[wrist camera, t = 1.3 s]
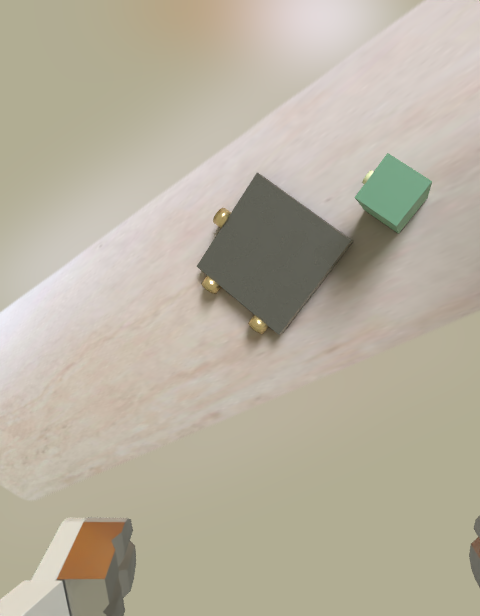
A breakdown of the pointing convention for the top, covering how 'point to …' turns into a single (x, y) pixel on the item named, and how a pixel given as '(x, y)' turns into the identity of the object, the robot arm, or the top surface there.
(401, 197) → the block
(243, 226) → the level base plate
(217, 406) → the top surface
